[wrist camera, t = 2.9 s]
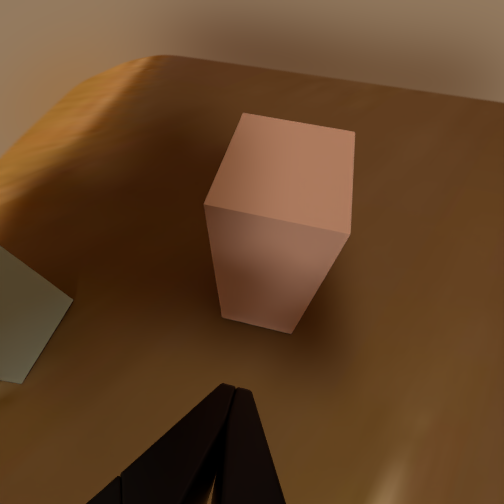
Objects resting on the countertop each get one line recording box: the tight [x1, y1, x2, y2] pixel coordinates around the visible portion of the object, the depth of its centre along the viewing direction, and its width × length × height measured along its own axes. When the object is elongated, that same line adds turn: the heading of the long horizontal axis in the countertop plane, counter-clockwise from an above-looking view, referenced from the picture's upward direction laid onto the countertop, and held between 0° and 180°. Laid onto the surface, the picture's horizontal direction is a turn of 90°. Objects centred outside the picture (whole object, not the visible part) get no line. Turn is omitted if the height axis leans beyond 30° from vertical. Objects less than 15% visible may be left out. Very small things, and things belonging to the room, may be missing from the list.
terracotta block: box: [204, 113, 355, 334], centre depth 13 cm, size 4×4×10 cm
